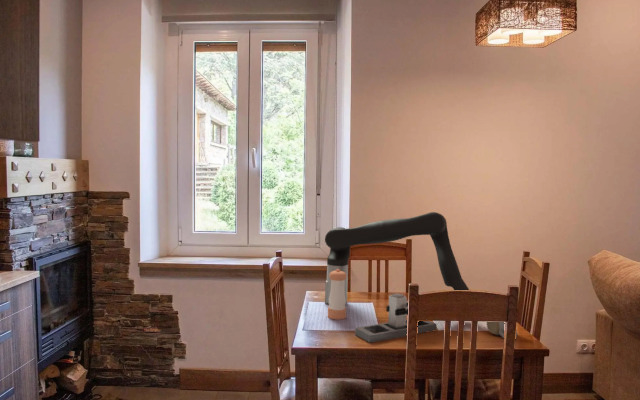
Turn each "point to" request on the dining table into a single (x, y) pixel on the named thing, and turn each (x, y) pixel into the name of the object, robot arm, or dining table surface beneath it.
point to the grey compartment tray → (389, 331)
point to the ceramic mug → (496, 328)
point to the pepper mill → (337, 295)
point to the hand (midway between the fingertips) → (391, 310)
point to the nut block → (394, 303)
